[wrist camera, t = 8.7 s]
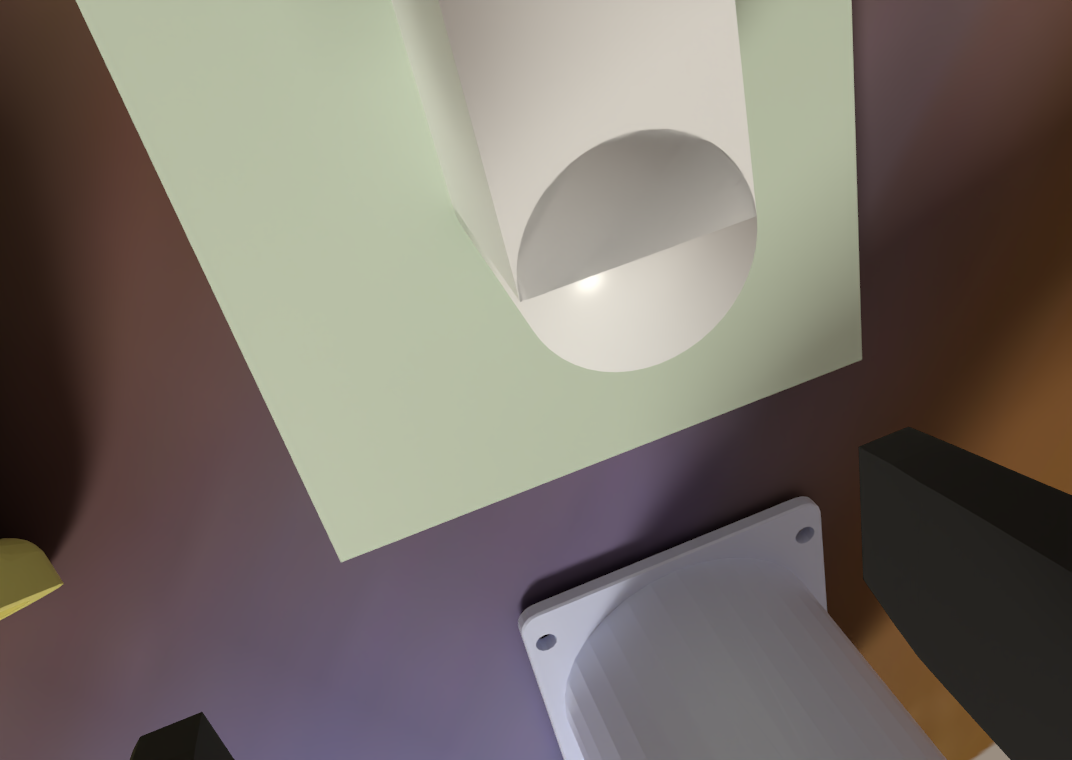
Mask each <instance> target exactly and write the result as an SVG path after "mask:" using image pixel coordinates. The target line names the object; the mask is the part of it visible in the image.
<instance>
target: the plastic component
mask: <svg viewBox="0 0 1072 760" xmlns="http://www.w3.org/2000/svg"><path fill="white" fill-rule="evenodd" d="M63 584H64V583H63V582H62V580H61V579H60V577H59V575H58V574H57V572H56V571H55V569H54V567H53V566H52V564H51V563H50V561H49V560H48V558H47V556H46V555H45V553H44V552H43V551H42V550H41V549H40V548H39V547H37V546H36V545H35V544H33V543H31V542H29V541H27V540H22V539H17V538H3V539H0V620H1V619H3V618H5V617H7V616H9V615H11V614H13V613H14V612H16V611H18V610H20V609H22V608H24V607H26V606H27V605H29V604H31V603H33V602H35V601H36V600H38V599H40V598H42V597H44V596H45V595H47V594H49V593H50V592H52V591H54V590H55V589H57V588H59V587H60V586H61V585H63Z"/></svg>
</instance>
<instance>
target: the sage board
mask: <svg viewBox="0 0 1072 760" xmlns="http://www.w3.org/2000/svg"><path fill="white" fill-rule="evenodd" d="M76 2H77V4H78V6H79V8H80V10H81V12H82V15H83V17H84V19H85V21H86V23H87V25H88V27H89V29H90V32H91V34H92V36H93V38H94V40H95V42H96V44H97V46H98V48H99V51H100V53H101V55H102V57H103V59H104V61H105V63H106V65H107V68H108V70H109V72H110V74H111V76H112V78H113V80H114V82H115V85H116V87H117V89H118V91H119V93H120V95H121V97H122V99H123V101H124V104H125V106H126V108H127V110H128V112H129V114H130V116H131V118H132V121H133V123H134V125H135V127H136V129H137V131H138V133H139V135H140V137H141V140H142V142H143V144H144V146H145V148H146V150H147V152H148V154H149V157H150V159H151V161H152V163H153V165H154V167H155V169H156V171H157V173H158V176H159V178H160V180H161V182H162V184H163V186H164V188H165V190H166V193H167V195H168V197H169V199H170V201H171V203H172V205H173V207H174V210H175V212H176V214H177V216H178V218H179V220H180V222H181V224H182V226H183V229H184V231H185V233H186V235H187V237H188V239H189V241H190V243H191V246H192V248H193V250H194V252H195V254H196V256H197V258H198V260H199V262H200V265H201V267H202V269H203V271H204V273H205V275H206V277H207V279H208V282H209V284H210V286H211V288H212V290H213V292H214V294H215V296H216V298H217V301H218V303H219V305H220V307H221V309H222V311H223V313H224V315H225V318H226V320H227V322H228V324H229V326H230V328H231V330H232V332H233V335H234V337H235V339H236V341H237V343H238V345H239V347H240V349H241V351H242V354H243V356H244V358H245V360H246V362H247V364H248V366H249V368H250V371H251V373H252V375H253V377H254V379H255V381H256V383H257V385H258V387H259V390H260V392H261V394H262V396H263V398H264V400H265V402H266V404H267V407H268V409H269V411H270V413H271V415H272V417H273V419H274V421H275V423H276V426H277V428H278V430H279V432H280V434H281V436H282V438H283V440H284V443H285V445H286V447H287V449H288V451H289V453H290V455H291V457H292V460H293V462H294V464H295V466H296V468H297V470H298V472H299V474H300V476H301V479H302V481H303V483H304V485H305V487H306V489H307V491H308V493H309V496H310V498H311V500H312V502H313V504H314V506H315V508H316V510H317V512H318V515H319V517H320V519H321V521H322V523H323V525H324V527H325V529H326V532H327V534H328V536H329V538H330V540H331V542H332V544H333V546H334V549H335V551H336V553H337V555H338V557H339V559H340V561H341V562H343V561H346V560H348V559H351V558H354V557H356V556H359V555H361V554H364V553H366V552H369V551H372V550H374V549H377V548H379V547H382V546H384V545H387V544H390V543H392V542H395V541H397V540H400V539H402V538H405V537H408V536H410V535H413V534H415V533H418V532H420V531H423V530H425V529H428V528H431V527H433V526H436V525H438V524H441V523H443V522H446V521H449V520H451V519H454V518H456V517H459V516H461V515H464V514H467V513H469V512H472V511H474V510H477V509H479V508H482V507H485V506H487V505H490V504H492V503H495V502H497V501H500V500H503V499H505V498H508V497H510V496H513V495H515V494H518V493H521V492H523V491H526V490H528V489H531V488H533V487H536V486H539V485H541V484H544V483H546V482H549V481H551V480H554V479H557V478H559V477H562V476H564V475H567V474H569V473H572V472H575V471H577V470H580V469H582V468H585V467H587V466H590V465H593V464H595V463H598V462H600V461H603V460H605V459H608V458H611V457H613V456H616V455H618V454H621V453H623V452H626V451H629V450H631V449H634V448H636V447H639V446H641V445H644V444H647V443H649V442H652V441H654V440H657V439H659V438H662V437H665V436H667V435H670V434H672V433H675V432H677V431H680V430H683V429H685V428H688V427H690V426H693V425H695V424H698V423H701V422H703V421H706V420H708V419H711V418H713V417H716V416H719V415H721V414H724V413H726V412H729V411H731V410H734V409H736V408H739V407H742V406H744V405H747V404H749V403H752V402H754V401H757V400H760V399H762V398H765V397H767V396H770V395H772V394H775V393H778V392H780V391H783V390H785V389H788V388H790V387H793V386H796V385H798V384H801V383H803V382H806V381H808V380H811V379H814V378H816V377H819V376H821V375H824V374H826V373H829V372H832V371H834V370H837V369H839V368H842V367H844V366H847V365H850V364H852V363H855V362H857V361H860V360H862V339H861V305H860V271H859V237H858V204H857V170H856V136H855V103H854V69H853V35H852V2H851V0H735V5H736V15H737V25H738V35H739V45H740V55H741V65H742V74H743V84H744V94H745V104H746V114H747V124H748V134H749V143H750V153H751V163H752V173H753V183H754V193H755V203H756V213H757V241H756V249H755V253H754V258H753V262H752V265H751V268H750V271H749V274H748V277H747V279H746V281H745V284H744V286H743V288H742V290H741V292H740V294H739V295H738V297H737V299H736V300H735V302H734V304H733V305H732V307H731V308H730V309H729V311H728V312H727V313H726V315H725V316H724V317H723V318H722V320H721V321H720V322H719V323H718V324H717V325H716V326H715V327H714V328H713V329H712V330H711V331H710V332H709V333H708V334H707V335H706V336H705V337H703V338H702V339H701V340H700V341H699V342H697V343H696V344H694V345H693V346H692V347H690V348H689V349H688V350H686V351H684V352H682V353H681V354H679V355H677V356H675V357H674V358H671V359H669V360H667V361H665V362H662V363H660V364H657V365H654V366H651V367H648V368H644V369H639V370H634V371H627V372H601V371H596V370H590V369H586V368H583V367H580V366H577V365H574V364H572V363H570V362H568V361H566V360H564V359H562V358H561V357H559V356H558V355H557V354H555V353H554V352H552V351H551V350H550V349H549V348H548V347H547V346H546V345H545V344H544V343H543V342H542V341H541V340H540V339H539V338H538V336H537V335H536V334H535V332H534V331H533V330H532V328H531V327H530V325H529V324H528V323H527V321H526V320H525V318H524V317H523V315H522V314H521V312H520V311H519V309H518V308H517V306H516V305H515V304H514V302H513V301H512V299H511V298H510V296H509V295H508V293H507V292H506V290H505V289H504V287H503V286H502V285H501V283H500V282H499V280H498V279H497V277H496V276H495V274H494V273H493V271H492V270H491V268H490V267H489V266H488V264H487V263H486V261H485V260H484V258H483V257H482V255H481V254H480V252H479V251H478V249H477V248H476V246H475V245H474V244H473V242H472V241H471V239H470V238H469V236H468V235H467V233H466V232H465V230H464V229H463V227H462V226H461V224H460V222H459V220H458V218H457V216H456V214H455V211H454V208H453V206H452V203H451V199H450V196H449V193H448V189H447V186H446V182H445V179H444V176H443V172H442V169H441V166H440V162H439V159H438V156H437V152H436V149H435V146H434V142H433V139H432V135H431V132H430V129H429V125H428V122H427V119H426V115H425V112H424V109H423V105H422V102H421V99H420V95H419V92H418V88H417V85H416V82H415V78H414V75H413V72H412V68H411V65H410V62H409V58H408V55H407V52H406V48H405V45H404V41H403V38H402V35H401V31H400V28H399V25H398V21H397V18H396V15H395V11H394V8H393V5H392V1H391V0H76Z"/></svg>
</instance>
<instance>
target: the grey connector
mask: <svg viewBox="0 0 1072 760" xmlns="http://www.w3.org/2000/svg"><path fill="white" fill-rule="evenodd" d="M391 1H392V5H393V8H394V11H395V15H396V18H397V21H398V25H399V28H400V31H401V35H402V38H403V41H404V45H405V48H406V52H407V55H408V58H409V62H410V65H411V68H412V72H413V75H414V78H415V82H416V85H417V88H418V92H419V95H420V99H421V102H422V105H423V109H424V112H425V115H426V119H427V122H428V125H429V129H430V132H431V135H432V139H433V142H434V146H435V149H436V152H437V156H438V159H439V162H440V166H441V169H442V172H443V176H444V179H445V182H446V186H447V189H448V193H449V196H450V199H451V203H452V206H453V208H454V211H455V214H456V216H457V218H458V220H459V222H460V224H461V226H462V227H463V229H464V230H465V232H466V233H467V235H468V236H469V238H470V239H471V241H472V242H473V244H474V245H475V246H476V248H477V249H478V251H479V252H480V254H481V255H482V257H483V258H484V260H485V261H486V263H487V264H488V266H489V267H490V268H491V270H492V271H493V273H494V274H495V276H496V277H497V279H498V280H499V282H500V283H501V285H502V286H503V287H504V289H505V290H506V292H507V293H508V295H509V296H510V298H511V299H512V301H513V302H514V304H515V305H516V306H517V308H518V309H519V311H520V312H521V314H522V315H523V317H524V318H525V320H526V321H527V323H528V324H529V325H530V327H531V328H532V330H533V331H534V332H535V334H536V335H537V336H538V338H539V339H540V340H541V341H542V342H543V343H544V344H545V345H546V346H547V347H548V348H549V349H550V350H551V351H552V352H554V353H555V354H557V355H558V356H559V357H561V358H562V359H564V360H566V361H568V362H570V363H572V364H574V365H577V366H580V367H583V368H586V369H590V370H596V371H601V372H627V371H634V370H639V369H644V368H648V367H651V366H654V365H657V364H660V363H662V362H665V361H667V360H669V359H671V358H674V357H675V356H677V355H679V354H681V353H682V352H684V351H686V350H688V349H689V348H690V347H692V346H693V345H694V344H696V343H697V342H699V341H700V340H701V339H702V338H703V337H705V336H706V335H707V334H708V333H709V332H710V331H711V330H712V329H713V328H714V327H715V326H716V325H717V324H718V323H719V322H720V321H721V320H722V318H723V317H724V316H725V315H726V313H727V312H728V311H729V309H730V308H731V307H732V305H733V304H734V302H735V300H736V299H737V297H738V295H739V294H740V292H741V290H742V288H743V286H744V284H745V281H746V279H747V277H748V274H749V271H750V268H751V265H752V262H753V258H754V253H755V249H756V241H757V213H756V203H755V193H754V183H753V173H752V163H751V153H750V143H749V134H748V124H747V114H746V104H745V94H744V84H743V74H742V65H741V55H740V45H739V35H738V25H737V15H736V5H735V0H391Z"/></svg>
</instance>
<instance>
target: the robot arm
mask: <svg viewBox="0 0 1072 760" xmlns="http://www.w3.org/2000/svg"><path fill="white" fill-rule="evenodd" d="M859 471H860V500H861V530H862V559H863V579H864V581H865V582H866V584H867V585H868V587H869V588H870V590H871V591H872V592H873V594H874V595H875V597H876V598H877V600H878V601H879V603H880V604H881V606H882V607H883V608H884V610H885V611H886V613H887V614H888V616H889V617H890V619H891V620H892V622H893V623H894V624H895V626H896V627H897V628H898V630H899V631H900V633H901V634H902V635H903V637H904V638H905V639H906V641H907V642H908V644H909V645H910V646H911V648H912V649H913V650H914V652H915V653H916V655H917V656H918V657H919V658H920V659H921V661H922V662H923V663H924V664H925V665H926V666H927V667H928V669H929V670H930V671H931V672H932V673H933V674H934V675H935V677H936V678H937V679H938V680H939V681H940V682H941V683H942V684H943V685H944V687H945V688H946V689H947V690H948V691H949V692H950V693H951V694H952V695H953V697H954V698H955V699H956V700H957V701H958V702H959V703H960V704H961V706H962V707H963V708H964V709H965V710H966V711H967V712H968V713H969V714H970V716H971V717H972V718H973V719H974V720H975V721H976V722H977V723H978V724H979V725H980V727H981V728H982V729H983V730H984V731H985V732H986V733H987V734H988V735H989V736H990V738H991V739H992V740H993V741H994V742H995V743H996V744H997V745H998V746H999V747H1000V749H1002V751H1003V752H1004V753H1005V754H1006V755H1007V756H1008V757H1009V758H1010V759H1011V760H1072V495H1070V494H1067V493H1065V492H1062V491H1060V490H1058V489H1055V488H1053V487H1050V486H1048V485H1046V484H1043V483H1041V482H1039V481H1036V480H1034V479H1031V478H1029V477H1027V476H1024V475H1022V474H1020V473H1017V472H1015V471H1013V470H1010V469H1008V468H1006V467H1003V466H1001V465H999V464H996V463H994V462H992V461H989V460H987V459H985V458H982V457H980V456H978V455H975V454H973V453H971V452H968V451H966V450H964V449H961V448H959V447H957V446H954V445H952V444H949V443H947V442H945V441H942V440H940V439H938V438H935V437H933V436H930V435H928V434H925V433H923V432H920V431H918V430H915V429H913V428H910V427H907V428H904V429H902V430H899V431H897V432H894V433H892V434H889V435H887V436H884V437H882V438H880V439H877V440H875V441H872V442H870V443H867V444H865V445H862V446H860V447H859ZM801 529H802V530H801ZM800 530H801V531H800ZM799 531H800V532H799ZM518 627H519V630H520V633H521V636H522V639H523V642H524V645H525V648H526V651H527V654H528V657H529V659H530V662H531V665H532V668H533V671H534V674H535V677H536V680H537V683H538V686H539V689H540V692H541V695H542V698H543V700H544V703H545V706H546V709H547V712H548V715H549V718H550V721H551V724H552V727H553V730H554V733H555V736H556V738H557V741H558V744H559V747H560V750H561V753H562V756H563V759H564V760H947V759H946V758H945V757H944V756H943V754H942V753H941V752H940V751H939V750H938V748H937V747H936V746H935V745H934V743H933V742H932V741H931V740H930V738H929V737H928V736H927V735H926V734H925V732H924V731H923V730H922V729H921V727H920V726H919V725H918V724H917V722H916V721H915V720H914V719H913V718H912V716H911V715H910V714H909V713H908V711H907V710H906V709H905V708H904V706H903V705H902V704H901V703H900V702H899V700H898V699H897V698H896V697H895V695H894V694H893V693H892V692H891V690H890V689H889V688H888V687H887V686H886V684H885V683H884V682H883V681H882V679H881V678H880V677H879V676H878V674H877V673H876V672H875V671H874V669H873V668H872V667H871V666H870V665H869V663H868V662H867V661H866V660H865V658H864V657H863V656H862V655H861V653H860V652H859V651H858V650H857V649H856V647H855V646H854V645H853V644H852V642H851V641H850V640H849V639H848V637H847V636H846V635H845V634H844V633H843V631H842V630H841V629H840V628H839V626H838V625H837V624H836V623H835V621H834V620H833V619H832V618H831V617H830V615H829V614H828V613H827V601H826V586H825V571H824V556H823V541H822V526H821V512H820V509H819V507H818V506H817V505H816V504H815V503H814V501H813V500H811V499H810V498H809V497H805V496H800V497H796V498H793V499H791V500H788V501H786V502H783V503H781V504H778V505H776V506H774V507H771V508H769V509H766V510H764V511H761V512H759V513H756V514H754V515H751V516H749V517H747V518H744V519H742V520H739V521H737V522H734V523H732V524H729V525H727V526H724V527H722V528H720V529H717V530H715V531H712V532H710V533H707V534H705V535H702V536H700V537H697V538H695V539H693V540H690V541H688V542H685V543H683V544H680V545H678V546H675V547H673V548H671V549H668V550H666V551H663V552H661V553H658V554H656V555H653V556H651V557H648V558H646V559H644V560H641V561H639V562H636V563H634V564H631V565H629V566H626V567H624V568H621V569H619V570H617V571H614V572H612V573H609V574H607V575H604V576H602V577H599V578H597V579H594V580H592V581H590V582H587V583H585V584H582V585H580V586H577V587H575V588H572V589H570V590H568V591H565V592H563V593H560V594H558V595H555V596H553V597H550V598H548V599H545V600H543V601H541V602H538V603H536V604H533V605H531V606H530V607H528V608H526V609H525V610H524V611H523V612H522V613H521V615H520V617H519V619H518ZM547 634H549V635H548V636H546V637H545V638H541V639H539V638H540V637H542V636H544V635H547ZM130 760H234V759H233V757H232V756H231V754H230V753H229V751H228V750H227V748H226V747H225V745H224V744H223V742H222V741H221V739H220V738H219V736H218V735H217V733H216V732H215V730H214V729H213V727H212V726H211V724H210V723H209V721H208V720H207V718H206V717H205V715H204V714H203V712H201V713H198V714H196V715H193V716H191V717H188V718H186V719H183V720H181V721H178V722H176V723H173V724H171V725H168V726H166V727H163V728H161V729H158V730H156V731H153V732H151V733H148V734H146V735H144V736H141V737H140V738H139V740H138V742H137V744H136V746H135V748H134V750H133V752H132V755H131V758H130Z"/></svg>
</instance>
